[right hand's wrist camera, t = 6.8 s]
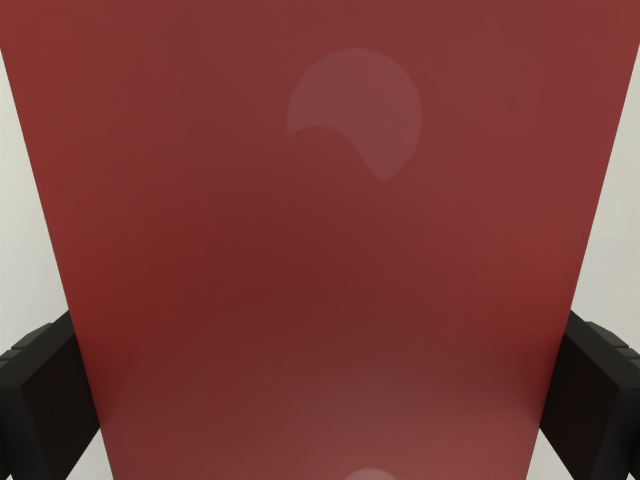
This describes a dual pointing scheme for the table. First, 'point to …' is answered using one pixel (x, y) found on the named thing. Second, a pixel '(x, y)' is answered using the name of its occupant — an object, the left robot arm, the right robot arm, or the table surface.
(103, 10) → the cabinet
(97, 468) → the table surface
